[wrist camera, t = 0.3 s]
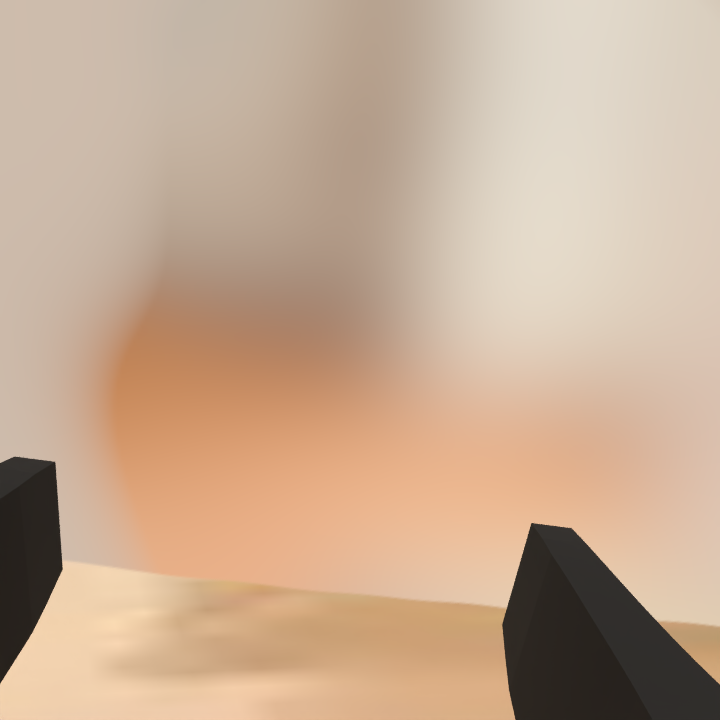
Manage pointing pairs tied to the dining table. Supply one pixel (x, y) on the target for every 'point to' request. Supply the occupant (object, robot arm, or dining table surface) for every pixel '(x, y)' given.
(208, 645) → the dining table surface
